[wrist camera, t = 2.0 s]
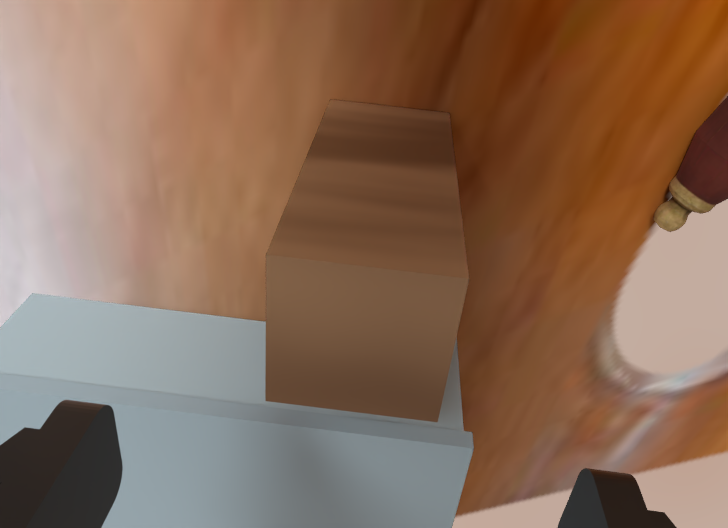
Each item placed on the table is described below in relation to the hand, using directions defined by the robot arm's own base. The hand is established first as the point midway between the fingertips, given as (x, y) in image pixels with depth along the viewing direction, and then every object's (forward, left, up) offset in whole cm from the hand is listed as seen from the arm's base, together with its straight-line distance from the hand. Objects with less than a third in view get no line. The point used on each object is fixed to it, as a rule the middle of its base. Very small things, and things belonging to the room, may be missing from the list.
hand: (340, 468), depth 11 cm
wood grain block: (+6, 0, -13) cm, 14 cm away
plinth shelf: (+10, -4, -13) cm, 17 cm away
